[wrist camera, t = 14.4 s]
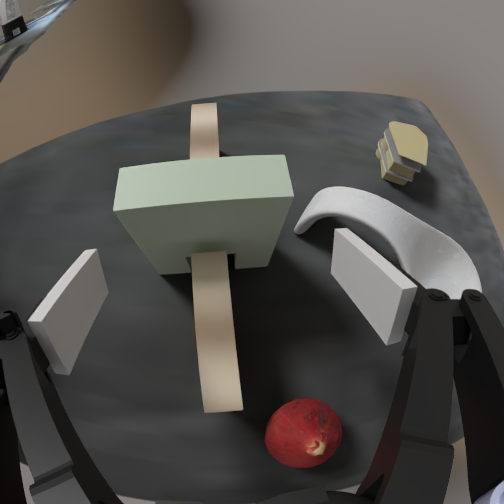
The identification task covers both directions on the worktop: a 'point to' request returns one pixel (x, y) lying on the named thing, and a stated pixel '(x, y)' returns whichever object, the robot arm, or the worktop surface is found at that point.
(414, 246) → the spoon rest
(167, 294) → the worktop surface
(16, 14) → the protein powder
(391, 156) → the pale yellow layered block
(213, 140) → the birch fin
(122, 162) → the worktop surface
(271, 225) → the notched piece
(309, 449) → the onion
